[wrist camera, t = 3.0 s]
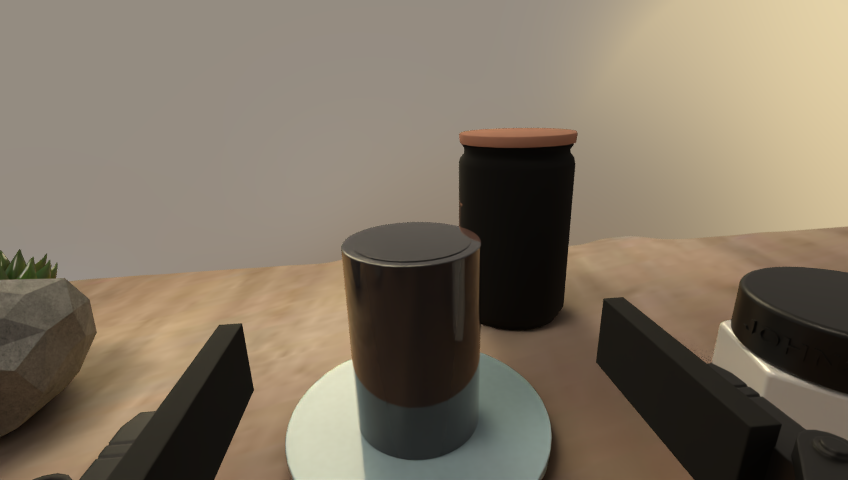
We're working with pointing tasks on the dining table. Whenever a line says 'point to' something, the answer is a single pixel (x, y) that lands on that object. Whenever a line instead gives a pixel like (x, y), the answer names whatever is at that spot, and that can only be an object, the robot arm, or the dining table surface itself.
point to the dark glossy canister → (415, 335)
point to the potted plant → (38, 337)
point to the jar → (792, 343)
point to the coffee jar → (519, 219)
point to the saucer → (443, 476)
